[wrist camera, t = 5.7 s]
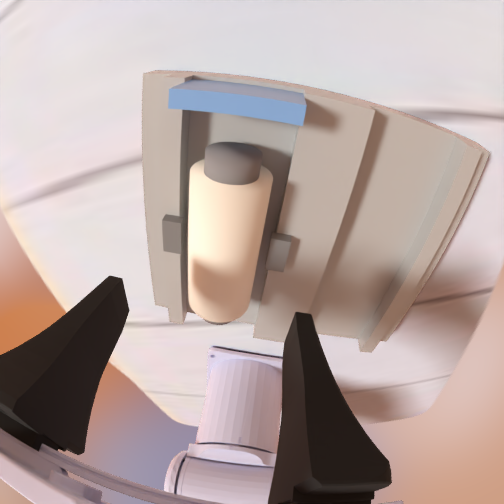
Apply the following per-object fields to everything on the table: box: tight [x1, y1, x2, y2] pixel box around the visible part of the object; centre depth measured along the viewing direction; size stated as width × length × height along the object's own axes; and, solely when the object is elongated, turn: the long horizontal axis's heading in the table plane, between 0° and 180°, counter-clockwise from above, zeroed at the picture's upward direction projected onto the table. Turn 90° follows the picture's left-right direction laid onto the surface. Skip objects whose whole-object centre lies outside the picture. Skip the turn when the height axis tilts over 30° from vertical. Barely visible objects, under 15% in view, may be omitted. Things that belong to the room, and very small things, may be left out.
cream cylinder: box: [188, 142, 273, 325], centre depth 16 cm, size 10×4×4 cm, turn 172°
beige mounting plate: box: [142, 70, 490, 353], centre depth 16 cm, size 16×18×4 cm
